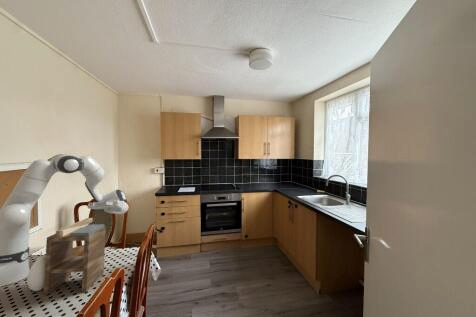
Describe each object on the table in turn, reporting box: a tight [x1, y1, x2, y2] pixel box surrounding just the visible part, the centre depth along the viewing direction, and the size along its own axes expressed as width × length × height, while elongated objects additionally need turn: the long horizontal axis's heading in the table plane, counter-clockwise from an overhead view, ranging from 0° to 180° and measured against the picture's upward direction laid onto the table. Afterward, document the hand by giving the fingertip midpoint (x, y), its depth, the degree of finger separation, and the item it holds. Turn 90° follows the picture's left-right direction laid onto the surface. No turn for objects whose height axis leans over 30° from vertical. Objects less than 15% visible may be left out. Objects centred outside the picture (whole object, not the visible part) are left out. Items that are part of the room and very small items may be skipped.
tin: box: [72, 244, 84, 256], centre depth 116 cm, size 15×3×8 cm, turn 139°
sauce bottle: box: [26, 251, 46, 292], centre depth 89 cm, size 8×8×18 cm
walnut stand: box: [42, 226, 107, 296], centre depth 94 cm, size 18×14×26 cm
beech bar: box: [55, 217, 94, 236], centre depth 99 cm, size 3×22×2 cm, turn 8°
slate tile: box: [70, 223, 105, 236], centre depth 95 cm, size 8×13×2 cm, turn 8°
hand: (97, 203), depth 117 cm, fingers open, 8 cm apart
